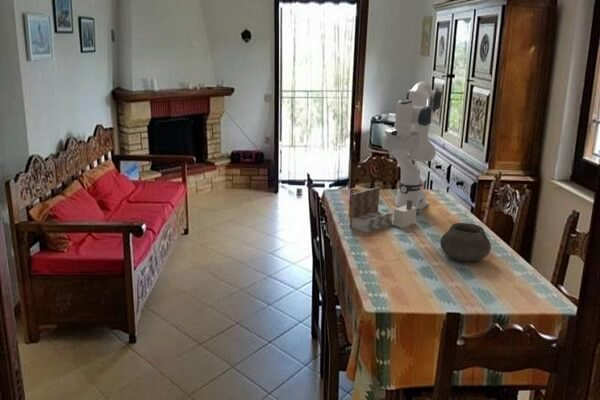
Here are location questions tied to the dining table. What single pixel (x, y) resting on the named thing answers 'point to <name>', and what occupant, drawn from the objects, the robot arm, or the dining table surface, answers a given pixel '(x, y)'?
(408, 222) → the cabinet
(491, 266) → the dining table surface
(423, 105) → the robot arm
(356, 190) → the candy box
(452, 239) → the clay pot
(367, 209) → the wood-topped platform
